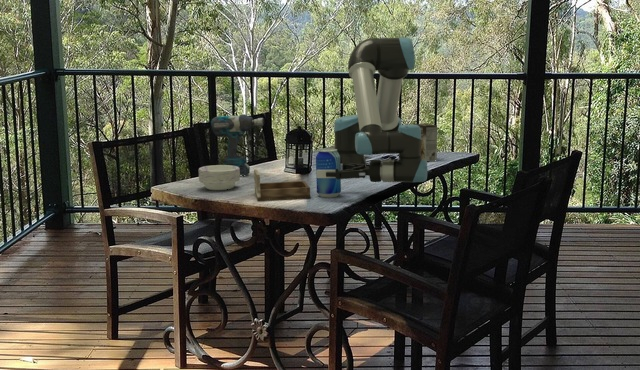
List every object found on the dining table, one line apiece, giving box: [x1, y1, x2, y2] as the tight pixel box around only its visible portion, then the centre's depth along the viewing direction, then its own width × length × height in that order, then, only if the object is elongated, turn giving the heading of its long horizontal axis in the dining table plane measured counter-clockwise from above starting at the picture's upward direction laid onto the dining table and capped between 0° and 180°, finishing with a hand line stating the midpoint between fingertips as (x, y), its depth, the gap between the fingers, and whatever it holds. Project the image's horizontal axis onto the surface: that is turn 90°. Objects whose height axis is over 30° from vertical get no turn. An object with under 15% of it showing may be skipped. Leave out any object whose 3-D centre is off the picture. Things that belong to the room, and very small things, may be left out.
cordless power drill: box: [210, 113, 265, 177], centre depth 320 cm, size 8×23×25 cm, turn 78°
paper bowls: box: [198, 164, 241, 191], centre depth 293 cm, size 15×15×8 cm
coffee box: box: [413, 123, 438, 162], centre depth 348 cm, size 9×6×16 cm
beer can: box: [315, 148, 342, 198], centre depth 272 cm, size 8×8×16 cm
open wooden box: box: [253, 168, 311, 202], centre depth 274 cm, size 18×14×9 cm
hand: (320, 170), depth 272 cm, fingers open, 13 cm apart
